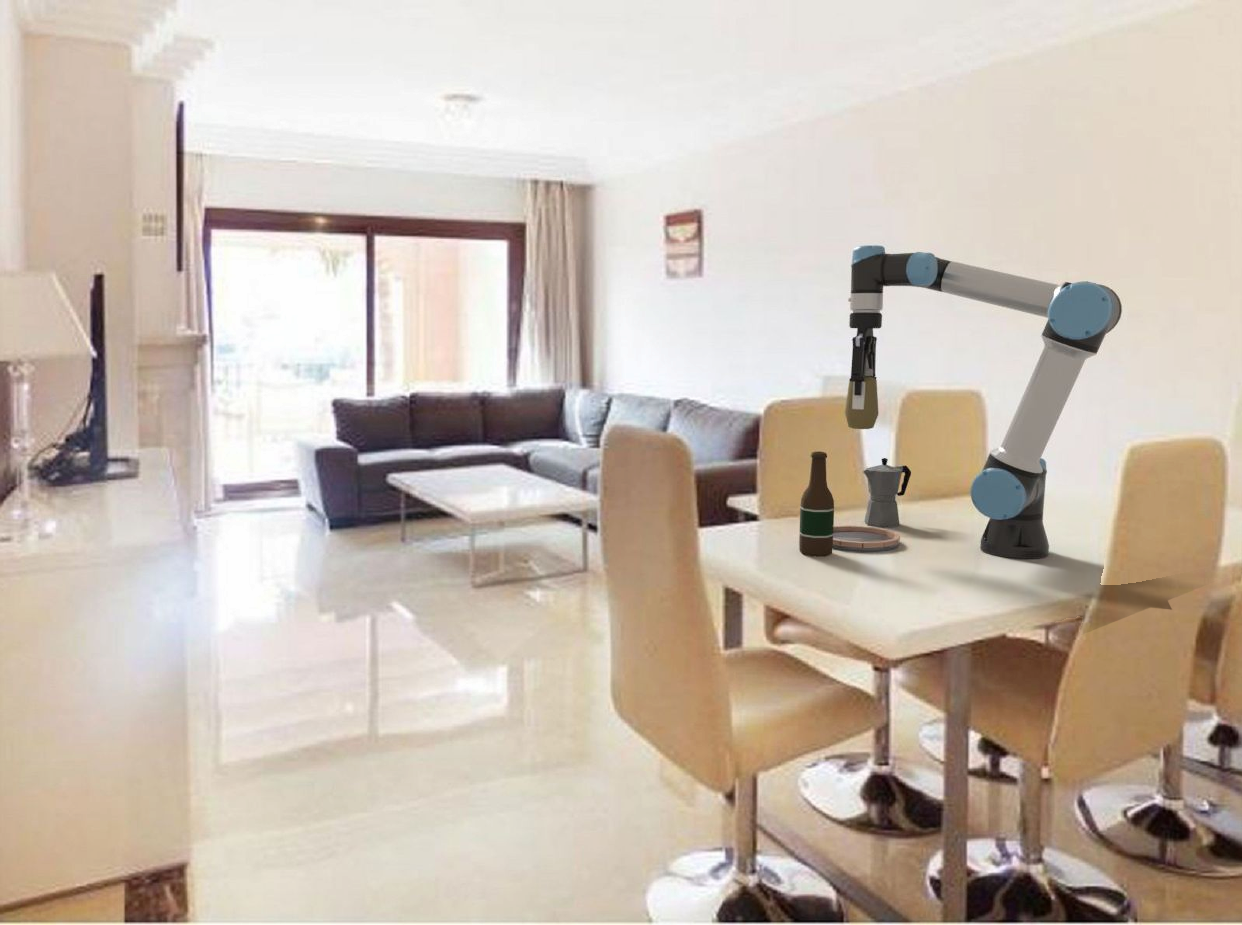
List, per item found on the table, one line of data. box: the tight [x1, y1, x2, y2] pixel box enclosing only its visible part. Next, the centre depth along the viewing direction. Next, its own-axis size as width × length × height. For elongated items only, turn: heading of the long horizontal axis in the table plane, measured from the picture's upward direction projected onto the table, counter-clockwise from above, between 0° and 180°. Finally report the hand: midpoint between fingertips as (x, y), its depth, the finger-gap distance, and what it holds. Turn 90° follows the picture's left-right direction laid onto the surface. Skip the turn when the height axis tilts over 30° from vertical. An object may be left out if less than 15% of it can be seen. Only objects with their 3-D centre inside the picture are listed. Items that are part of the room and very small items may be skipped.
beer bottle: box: [798, 451, 835, 557], centre depth 227 cm, size 8×8×24 cm
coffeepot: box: [862, 457, 912, 528], centre depth 262 cm, size 15×9×18 cm, turn 113°
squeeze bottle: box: [844, 360, 879, 430], centre depth 235 cm, size 8×8×18 cm
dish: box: [832, 524, 901, 553], centre depth 240 cm, size 20×20×2 cm
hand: (862, 407), depth 235 cm, fingers closed on squeeze bottle, 6 cm apart
